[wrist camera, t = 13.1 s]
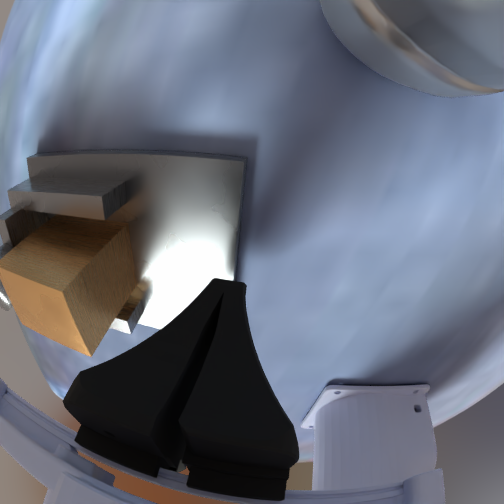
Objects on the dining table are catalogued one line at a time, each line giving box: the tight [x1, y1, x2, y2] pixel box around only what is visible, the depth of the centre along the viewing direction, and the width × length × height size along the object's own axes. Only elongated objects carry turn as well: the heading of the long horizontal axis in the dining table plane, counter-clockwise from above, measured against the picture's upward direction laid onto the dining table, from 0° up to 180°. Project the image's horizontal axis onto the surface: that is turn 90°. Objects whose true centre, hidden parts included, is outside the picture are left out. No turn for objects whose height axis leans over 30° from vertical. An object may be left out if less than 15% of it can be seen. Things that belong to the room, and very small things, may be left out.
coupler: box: [0, 150, 247, 334], centre depth 11 cm, size 13×10×6 cm
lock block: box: [0, 214, 137, 357], centre depth 11 cm, size 5×4×5 cm
